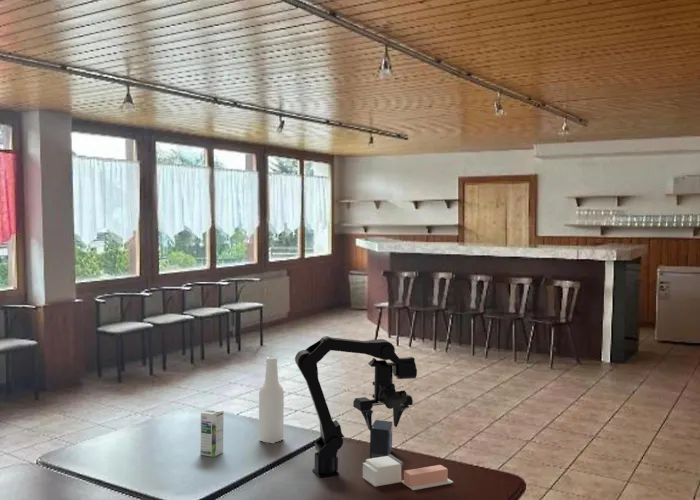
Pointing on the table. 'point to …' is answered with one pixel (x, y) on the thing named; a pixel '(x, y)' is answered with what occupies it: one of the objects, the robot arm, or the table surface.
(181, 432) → the table surface
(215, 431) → the syrup box
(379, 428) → the small box
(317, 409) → the robot arm
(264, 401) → the alcohol
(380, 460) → the block
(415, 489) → the mat
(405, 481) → the salmon pink block
